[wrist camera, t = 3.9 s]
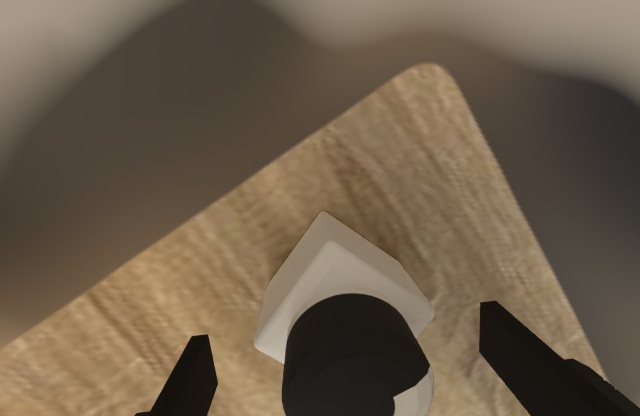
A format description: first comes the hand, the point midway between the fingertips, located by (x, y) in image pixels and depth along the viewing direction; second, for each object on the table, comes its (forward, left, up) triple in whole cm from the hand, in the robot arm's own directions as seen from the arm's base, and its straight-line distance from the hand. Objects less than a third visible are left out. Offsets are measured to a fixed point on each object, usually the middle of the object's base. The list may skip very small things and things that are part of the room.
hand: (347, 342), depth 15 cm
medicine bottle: (0, 0, -9) cm, 9 cm away
